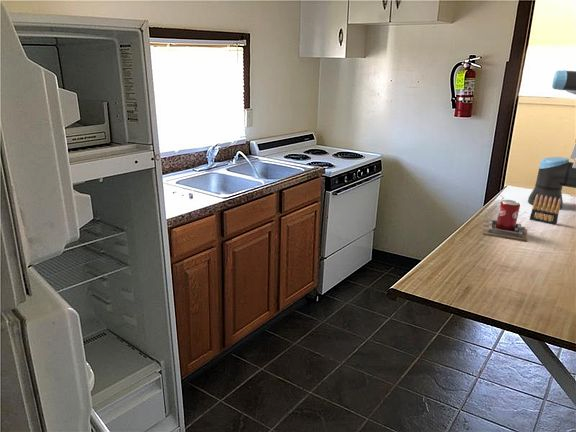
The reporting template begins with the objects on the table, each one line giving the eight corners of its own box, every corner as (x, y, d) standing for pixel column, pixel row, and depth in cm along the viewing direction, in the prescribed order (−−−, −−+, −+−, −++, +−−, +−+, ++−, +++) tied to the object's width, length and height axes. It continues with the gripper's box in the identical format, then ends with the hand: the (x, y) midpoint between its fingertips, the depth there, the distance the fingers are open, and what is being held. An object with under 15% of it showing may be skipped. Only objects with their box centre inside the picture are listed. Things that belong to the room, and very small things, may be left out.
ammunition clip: (556, 224, 208) (563, 198, 204) (555, 225, 207) (562, 198, 203) (530, 218, 214) (535, 192, 210) (529, 219, 213) (534, 193, 209)
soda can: (495, 231, 195) (500, 203, 191) (495, 225, 201) (501, 198, 197) (514, 234, 192) (520, 206, 188) (514, 228, 198) (520, 201, 194)
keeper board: (484, 222, 207) (484, 217, 206) (524, 228, 201) (525, 223, 200) (483, 234, 193) (484, 229, 192) (526, 241, 187) (527, 236, 186)
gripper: (611, 119, 171) (588, 174, 180) (601, 107, 192) (581, 157, 201) (587, 115, 174) (566, 169, 183) (580, 104, 194) (562, 153, 204)
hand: (574, 163), depth 192 cm, fingers open, 13 cm apart
